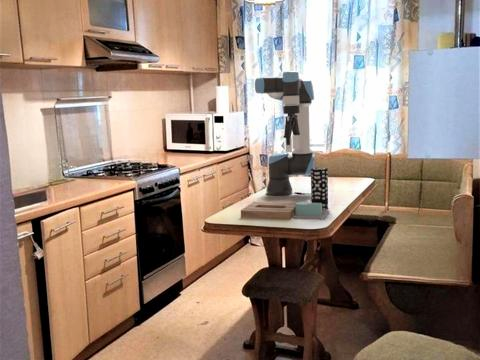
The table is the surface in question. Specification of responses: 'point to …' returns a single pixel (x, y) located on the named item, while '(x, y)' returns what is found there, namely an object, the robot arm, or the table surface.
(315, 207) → the teal bar
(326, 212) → the felt pad
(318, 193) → the spotted tube
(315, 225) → the table surface
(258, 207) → the pocket board
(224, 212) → the table surface
